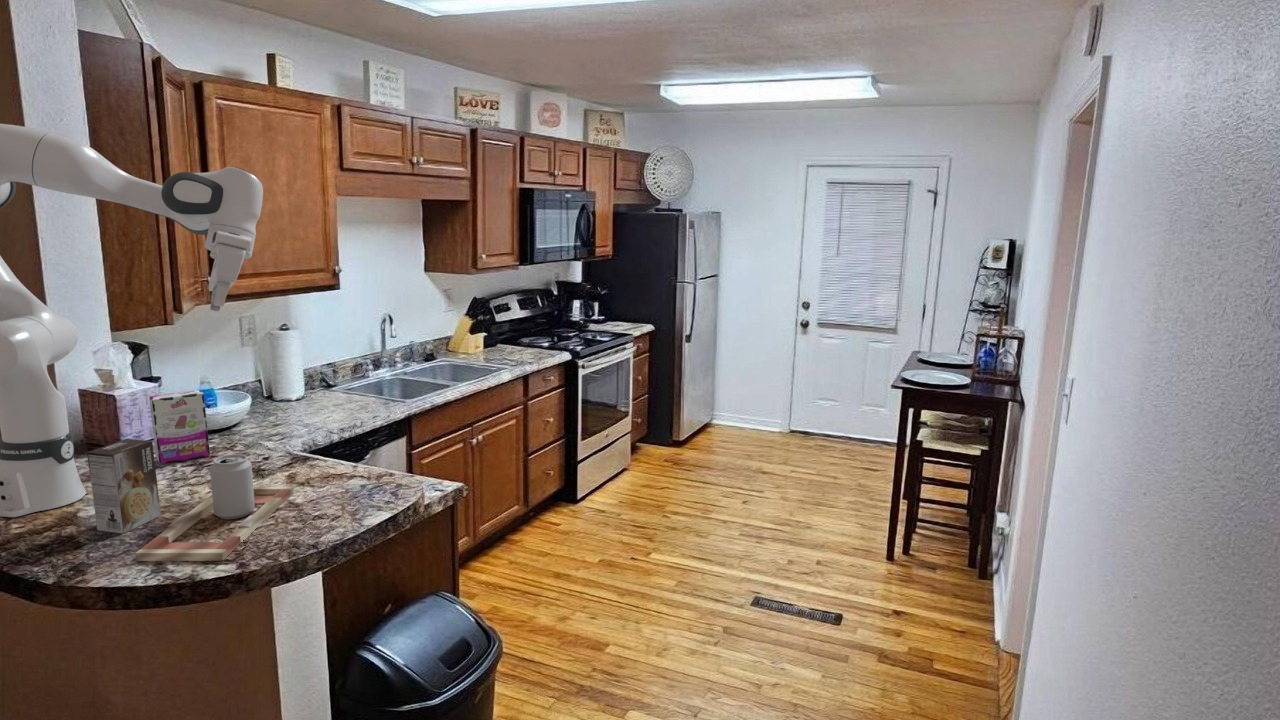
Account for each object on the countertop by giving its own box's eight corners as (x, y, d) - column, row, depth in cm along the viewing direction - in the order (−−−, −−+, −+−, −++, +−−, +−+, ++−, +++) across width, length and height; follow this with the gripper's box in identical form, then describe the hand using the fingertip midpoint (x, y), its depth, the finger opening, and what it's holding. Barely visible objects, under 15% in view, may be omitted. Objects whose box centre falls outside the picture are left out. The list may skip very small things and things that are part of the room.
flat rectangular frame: (136, 560, 136) (134, 550, 136) (223, 492, 168) (222, 484, 168) (223, 560, 137) (222, 550, 137) (293, 493, 169) (293, 484, 169)
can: (219, 508, 160) (214, 453, 158) (258, 505, 162) (254, 451, 160) (209, 522, 153) (204, 465, 151) (250, 519, 155) (246, 462, 153)
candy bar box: (205, 451, 196) (200, 388, 192) (210, 456, 192) (205, 392, 189) (154, 459, 188) (148, 395, 185) (158, 465, 185) (152, 399, 181)
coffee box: (135, 513, 157) (126, 437, 153) (162, 516, 155) (154, 440, 152) (95, 531, 148) (85, 451, 145) (123, 534, 147) (114, 454, 143)
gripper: (209, 249, 168) (195, 310, 166) (217, 231, 151) (203, 299, 149) (240, 256, 171) (228, 316, 169) (252, 239, 154) (238, 306, 152)
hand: (216, 308), depth 159 cm, fingers open, 8 cm apart
